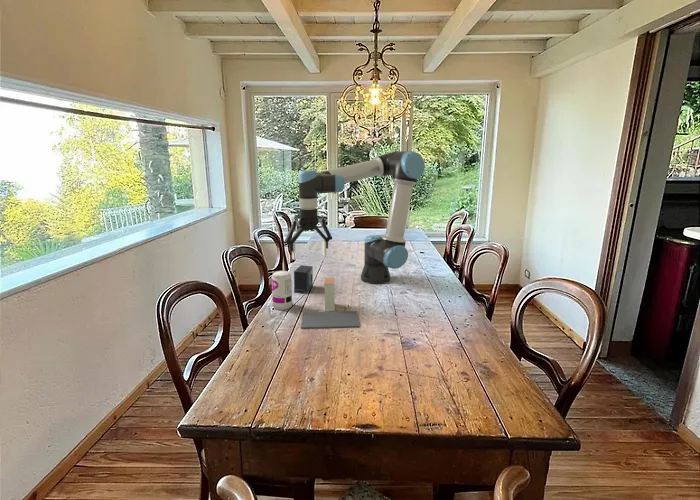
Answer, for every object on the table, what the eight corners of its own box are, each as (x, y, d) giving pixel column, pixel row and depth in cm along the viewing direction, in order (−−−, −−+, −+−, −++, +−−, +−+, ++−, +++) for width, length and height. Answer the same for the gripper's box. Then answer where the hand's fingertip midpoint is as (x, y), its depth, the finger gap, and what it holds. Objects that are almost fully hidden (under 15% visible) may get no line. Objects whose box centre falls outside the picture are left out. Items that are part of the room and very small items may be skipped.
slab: (334, 303, 175) (334, 277, 172) (334, 311, 167) (334, 283, 164) (324, 304, 175) (324, 277, 172) (324, 311, 167) (324, 283, 164)
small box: (307, 293, 187) (306, 272, 184) (293, 292, 188) (293, 271, 185) (313, 286, 197) (313, 265, 194) (300, 285, 198) (300, 264, 195)
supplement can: (276, 311, 166) (274, 277, 162) (270, 305, 173) (268, 271, 169) (294, 308, 170) (293, 274, 166) (288, 301, 177) (287, 269, 173)
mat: (356, 312, 166) (356, 311, 165) (359, 327, 152) (359, 325, 152) (302, 313, 164) (302, 312, 164) (300, 328, 151) (300, 327, 151)
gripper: (333, 205, 175) (333, 252, 180) (276, 208, 166) (278, 258, 171) (339, 207, 168) (339, 256, 174) (280, 211, 159) (282, 262, 165)
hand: (309, 257), depth 172 cm, fingers open, 13 cm apart
